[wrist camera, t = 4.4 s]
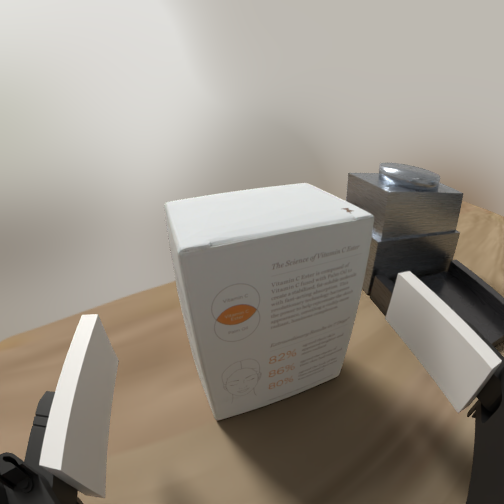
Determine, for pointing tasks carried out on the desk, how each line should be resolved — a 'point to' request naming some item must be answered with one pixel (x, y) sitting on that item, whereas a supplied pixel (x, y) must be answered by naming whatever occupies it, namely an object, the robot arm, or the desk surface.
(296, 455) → the desk surface
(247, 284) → the small box
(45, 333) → the desk surface
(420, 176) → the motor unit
